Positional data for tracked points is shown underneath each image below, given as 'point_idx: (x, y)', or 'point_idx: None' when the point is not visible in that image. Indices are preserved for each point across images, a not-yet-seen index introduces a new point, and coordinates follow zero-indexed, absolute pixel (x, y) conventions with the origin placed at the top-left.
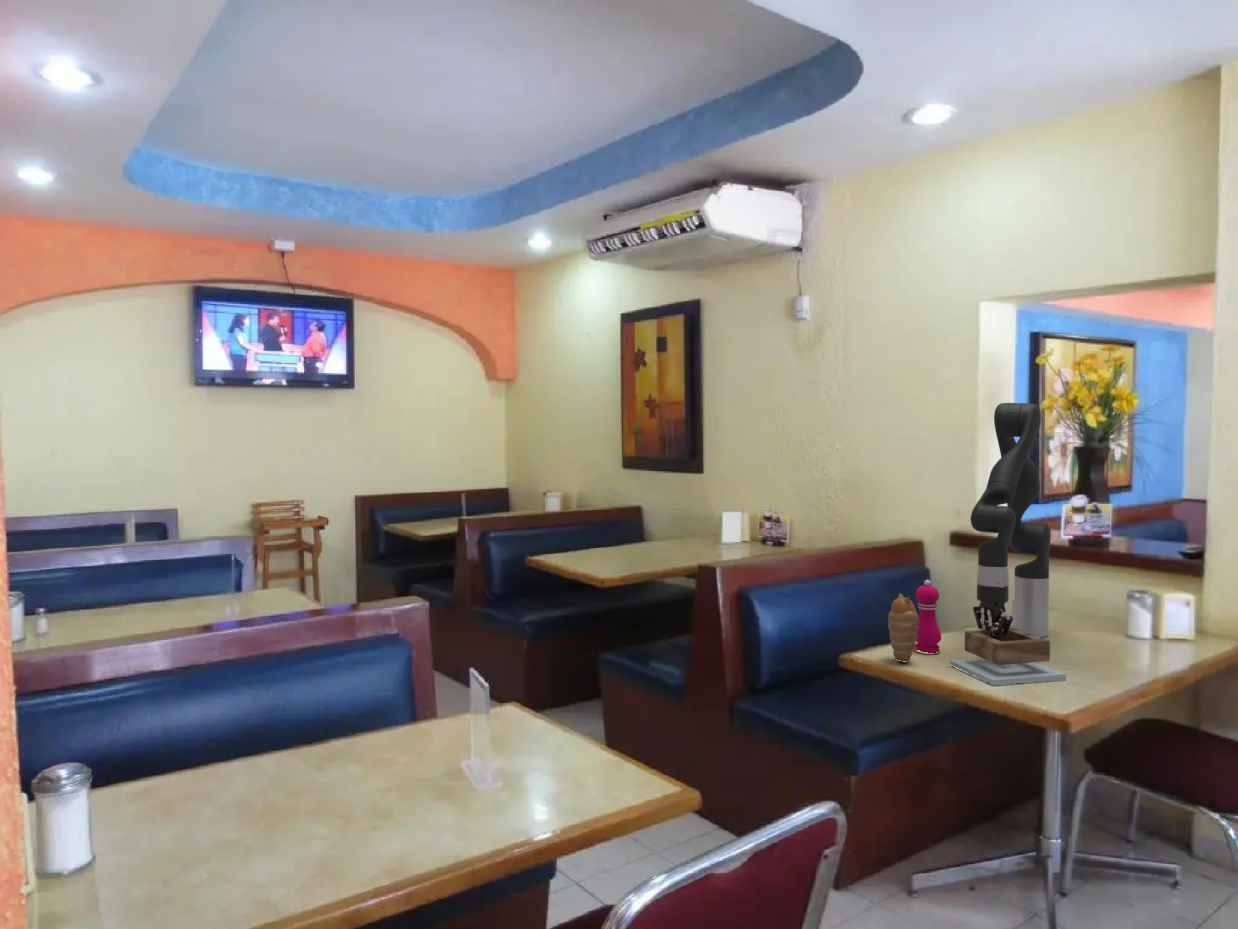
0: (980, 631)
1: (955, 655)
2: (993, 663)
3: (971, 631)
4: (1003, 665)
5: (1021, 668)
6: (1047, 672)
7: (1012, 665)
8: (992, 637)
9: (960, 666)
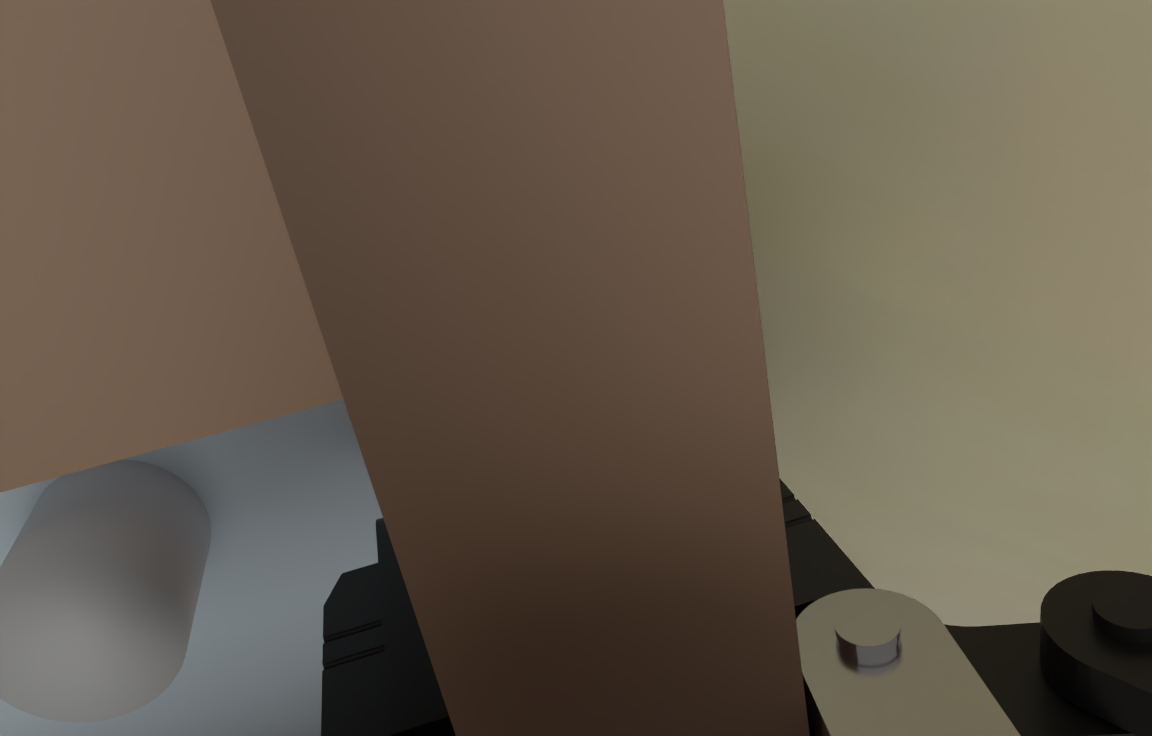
0: (604, 509)
1: (1138, 59)
2: (343, 402)
3: (630, 144)
4: (42, 500)
5: (50, 722)
6: None
7: (234, 644)
8: (412, 714)
9: None
